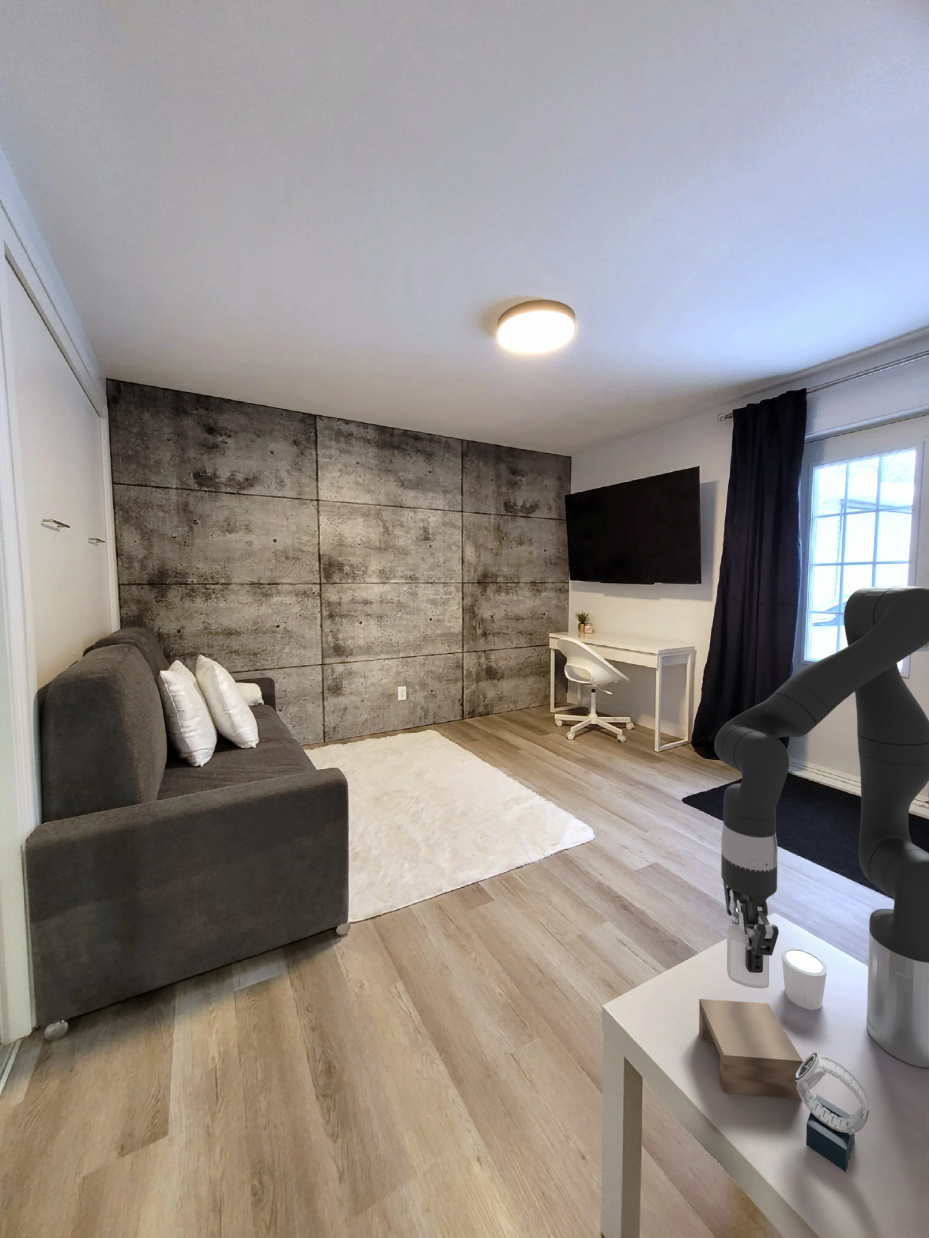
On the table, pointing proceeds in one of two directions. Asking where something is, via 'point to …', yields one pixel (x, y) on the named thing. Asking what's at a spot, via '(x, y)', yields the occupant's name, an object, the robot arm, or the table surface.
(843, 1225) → the table surface
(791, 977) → the white oval container
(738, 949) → the eye dropper bottle
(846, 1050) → the table surface
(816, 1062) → the watch
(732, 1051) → the brown wooden block
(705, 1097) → the table surface
